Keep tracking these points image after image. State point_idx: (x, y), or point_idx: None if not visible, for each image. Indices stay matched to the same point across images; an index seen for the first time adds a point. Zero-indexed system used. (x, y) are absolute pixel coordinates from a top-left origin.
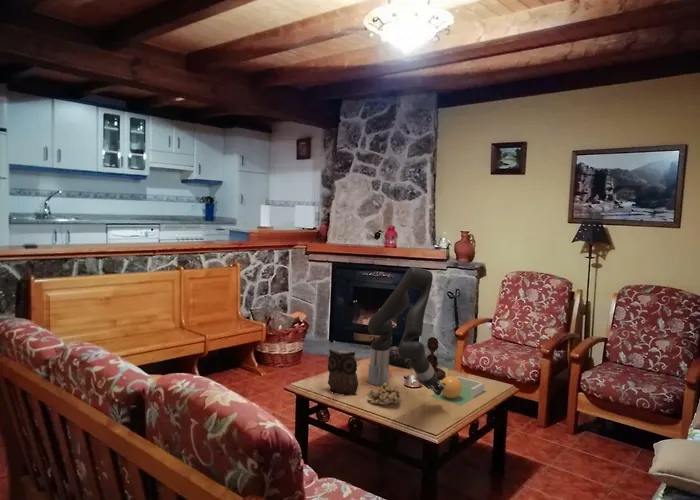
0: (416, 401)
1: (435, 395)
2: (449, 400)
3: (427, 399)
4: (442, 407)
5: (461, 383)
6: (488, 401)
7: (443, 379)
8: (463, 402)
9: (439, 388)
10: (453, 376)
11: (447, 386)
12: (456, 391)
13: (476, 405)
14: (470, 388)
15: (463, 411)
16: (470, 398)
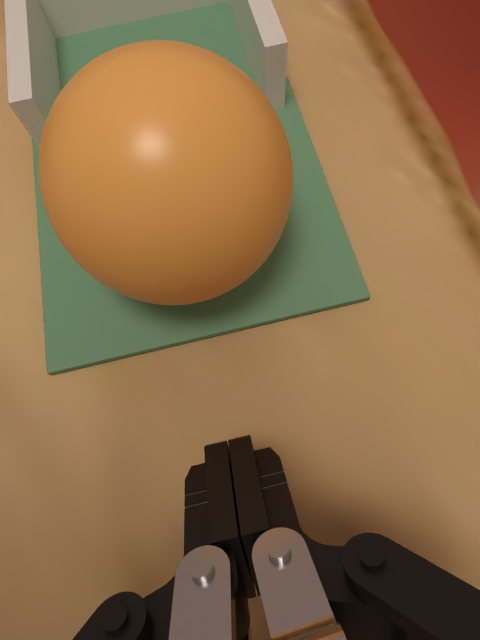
0: (40, 602)
1: (76, 318)
2: (230, 296)
3: (80, 444)
4: (307, 470)
5: (74, 12)
6: (381, 66)
7: (73, 189)
8: (326, 229)
9: (387, 632)
10: (143, 52)
11: (205, 257)
12: (287, 216)
13: (406, 180)
14: (152, 16)
15: (473, 364)
16: (290, 131)
